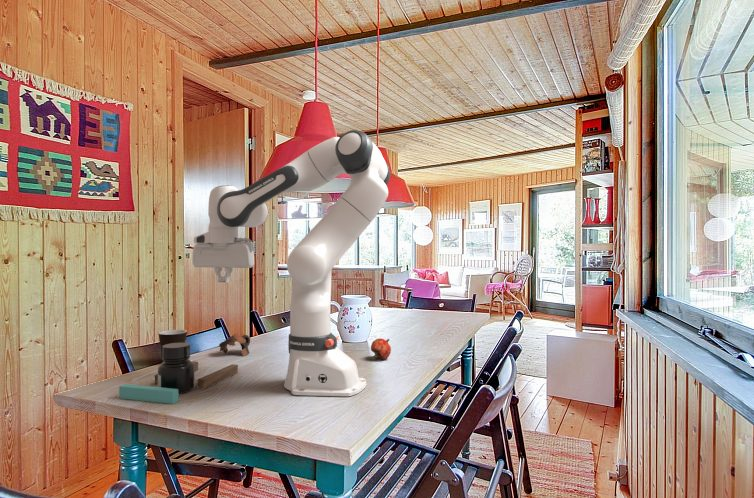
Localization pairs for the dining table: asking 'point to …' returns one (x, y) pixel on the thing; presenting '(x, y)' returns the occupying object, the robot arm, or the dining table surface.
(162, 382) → the ink bottle
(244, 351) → the brown animal figurine
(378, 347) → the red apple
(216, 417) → the dining table surface
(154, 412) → the dining table surface
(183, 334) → the coffee mug
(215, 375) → the lane
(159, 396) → the bar
